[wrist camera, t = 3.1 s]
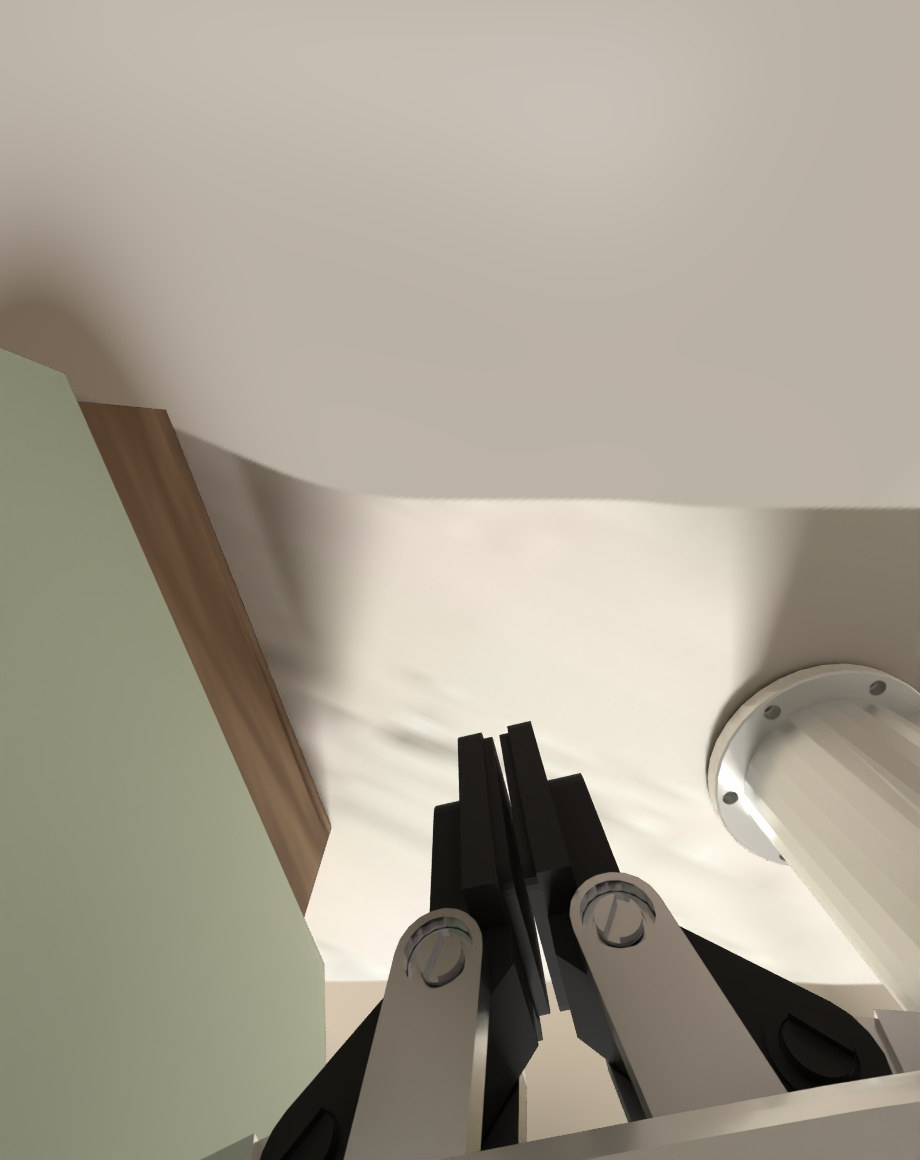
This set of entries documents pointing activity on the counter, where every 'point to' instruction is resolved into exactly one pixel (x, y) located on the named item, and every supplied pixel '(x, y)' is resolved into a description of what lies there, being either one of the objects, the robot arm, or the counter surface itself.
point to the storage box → (214, 629)
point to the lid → (125, 841)
